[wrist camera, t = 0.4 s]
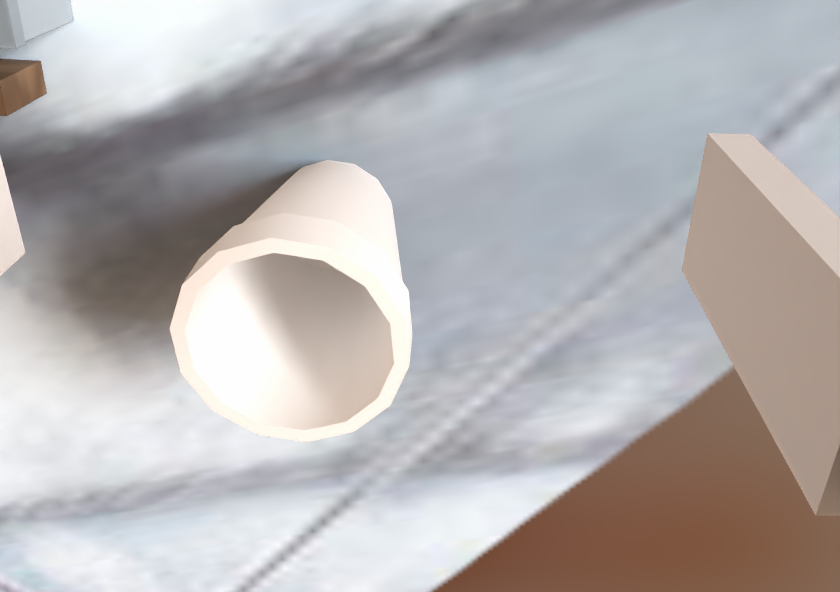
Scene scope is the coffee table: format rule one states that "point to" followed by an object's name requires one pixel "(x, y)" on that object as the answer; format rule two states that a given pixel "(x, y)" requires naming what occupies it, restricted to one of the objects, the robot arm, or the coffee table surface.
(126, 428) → the coffee table surface
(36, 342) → the coffee table surface
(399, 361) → the foam cup
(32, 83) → the bay
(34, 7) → the gray block
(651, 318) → the coffee table surface
